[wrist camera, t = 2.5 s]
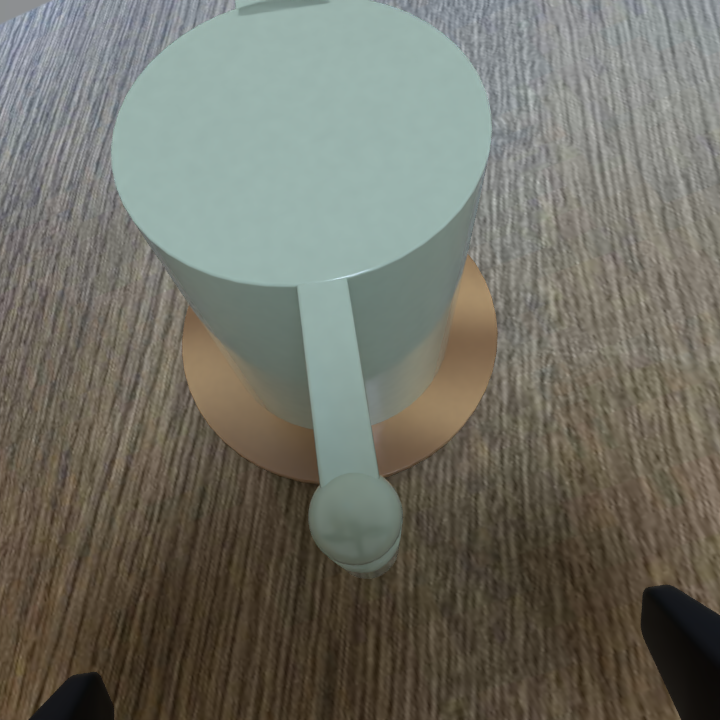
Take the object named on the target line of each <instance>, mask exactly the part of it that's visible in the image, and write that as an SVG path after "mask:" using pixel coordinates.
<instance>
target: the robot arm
mask: <svg viewBox="0 0 720 720" xmlns="http://www.w3.org/2000/svg"><path fill="white" fill-rule="evenodd" d="M641 630H642V635H643V638H644V640H645V642H646V645H647V647H648V649H649V651H650V653H651V655H652V658H653V660H654V662H655V664H656V666H657V668H658V670H659V673H660V675H661V677H662V679H663V681H664V683H665V685H666V688H667V690H668V692H669V694H670V696H671V698H672V701H673V703H674V705H675V707H676V709H677V711H678V713H679V716H680V718H681V720H720V615H719V614H717V613H715V612H714V611H712V610H711V609H709V608H707V607H706V606H704V605H703V604H701V603H699V602H698V601H696V600H695V599H693V598H691V597H690V596H688V595H687V594H685V593H683V592H682V591H680V590H679V589H677V588H675V587H673V586H671V585H660V586H654V587H648V588H646V589H645V590H644V592H643V598H642V613H641ZM29 720H114V707H113V703H112V701H111V699H110V696H109V694H108V691H107V689H106V687H105V684H104V682H103V680H102V677H101V676H100V674H98V673H97V672H90V673H83V674H77V675H73V676H71V677H70V678H68V679H67V680H66V681H65V682H64V683H63V684H62V685H61V686H60V687H59V688H58V689H57V690H56V692H55V693H54V694H53V695H52V696H51V697H50V698H49V699H48V700H47V701H46V702H45V703H44V704H43V705H42V706H41V707H40V708H39V709H38V710H37V711H36V712H35V713H34V714H33V716H32V717H31V718H30V719H29Z"/></svg>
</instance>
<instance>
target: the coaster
mask: <svg viewBox="0 0 720 720" xmlns="http://www.w3.org/2000/svg"><path fill="white" fill-rule="evenodd" d="M497 335H498V333H497V322H496V313H495V309H494V305H493V301H492V297H491V294H490V292H489V289H488V287H487V284H486V282H485V279H484V278H483V276H482V274H481V272H480V271H479V269H478V267H477V265H476V264H475V262H474V261H473V260H472V259H471V257H470V256H469V255H468V254H467V259H466V263H465V268H464V273H463V277H462V282H461V286H460V291H459V296H458V300H457V305H456V309H455V314H454V318H453V323H452V328H451V332H450V337H449V341H448V346H447V350H446V353H445V357H444V360H443V362H442V364H441V367H440V369H439V371H438V373H437V375H436V376H435V378H434V379H433V381H432V382H431V384H430V385H429V387H428V388H427V389H426V390H425V391H424V392H423V394H422V395H421V396H420V397H419V398H418V399H417V400H415V401H414V402H413V403H412V404H411V405H410V406H408V407H407V408H406V409H404V410H403V411H401V412H400V413H398V414H397V415H395V416H393V417H391V418H389V419H387V420H385V421H383V422H380V423H377V424H375V425H372V426H371V427H372V433H373V439H374V445H375V452H376V458H377V464H378V470H379V474H380V475H382V476H383V477H384V478H385V477H389V476H392V475H394V474H397V473H399V472H401V471H404V470H406V469H409V468H411V467H413V466H414V465H416V464H418V463H420V462H421V461H423V460H425V459H427V458H428V457H430V456H431V455H433V454H434V453H435V452H437V451H438V450H439V449H440V448H442V447H443V446H444V445H446V444H447V443H448V442H449V441H450V440H451V439H452V438H453V437H454V436H455V435H456V434H457V433H458V432H459V431H460V430H461V429H462V428H463V426H464V425H465V424H466V422H467V421H468V420H469V418H470V417H471V416H472V414H473V413H474V411H475V410H476V408H477V406H478V404H479V402H480V400H481V399H482V397H483V395H484V393H485V391H486V388H487V385H488V383H489V380H490V377H491V374H492V372H493V367H494V362H495V357H496V352H497ZM182 357H183V364H184V371H185V376H186V379H187V383H188V386H189V389H190V392H191V394H192V397H193V399H194V401H195V403H196V405H197V407H198V409H199V411H200V412H201V414H202V416H203V417H204V419H205V420H206V422H207V423H208V425H209V426H210V427H211V428H212V429H213V430H214V432H215V433H216V434H217V435H218V436H219V437H220V438H221V439H222V440H223V441H224V442H225V443H226V444H227V445H228V446H229V447H230V448H232V449H233V450H234V451H235V452H236V453H238V454H239V455H240V456H241V457H243V458H245V459H246V460H248V461H250V462H251V463H253V464H254V465H256V466H258V467H259V468H262V469H264V470H266V471H269V472H271V473H273V474H276V475H278V476H281V477H285V478H288V479H292V480H295V481H299V482H305V483H312V484H319V485H320V483H319V474H318V466H317V457H316V449H315V440H314V432H313V429H308V428H304V427H301V426H297V425H294V424H291V423H289V422H287V421H285V420H283V419H280V418H278V417H277V416H275V415H274V414H272V413H271V412H269V411H267V410H266V409H265V408H264V407H262V406H261V405H260V404H259V403H258V402H257V401H256V400H255V399H254V398H253V397H252V396H251V395H250V394H249V393H248V391H247V390H246V389H245V387H244V386H243V384H242V383H241V381H240V380H239V378H238V377H237V375H236V374H235V372H234V371H233V369H232V368H231V366H230V365H229V363H228V362H227V360H226V359H225V357H224V356H223V354H222V353H221V351H220V350H219V348H218V347H217V346H216V344H215V343H214V341H213V340H212V338H211V337H210V335H209V334H208V332H207V331H206V329H205V328H204V326H203V325H202V323H201V322H200V320H199V319H198V317H197V316H196V314H195V313H194V311H193V310H192V308H191V307H190V305H189V307H188V310H187V313H186V317H185V323H184V329H183V336H182Z"/></svg>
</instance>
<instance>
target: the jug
mask: <svg viewBox="0 0 720 720" xmlns="http://www.w3.org/2000/svg"><path fill="white" fill-rule="evenodd" d="M491 138H492V119H491V110H490V106H489V101H488V97H487V93H486V91H485V89H484V86H483V84H482V81H481V79H480V77H479V75H478V73H477V72H476V70H475V68H474V67H473V65H472V64H471V62H470V60H469V59H468V58H467V57H466V56H465V54H464V53H463V52H462V51H461V50H460V49H459V47H458V46H457V45H456V44H455V43H453V42H452V41H451V40H450V39H449V38H448V37H447V36H445V35H444V34H443V33H442V32H440V31H439V30H438V29H436V28H435V27H433V26H432V25H430V24H429V23H427V22H426V21H424V20H422V19H420V18H418V17H416V16H414V15H412V14H410V13H408V12H406V11H403V10H400V9H398V8H395V7H392V6H390V5H387V4H383V3H379V2H375V1H372V0H235V9H233V10H231V11H228V12H225V13H223V14H220V15H218V16H216V17H214V18H212V19H210V20H208V21H206V22H204V23H202V24H200V25H198V26H196V27H195V28H193V29H191V30H190V31H188V32H187V33H185V34H183V35H182V36H180V37H179V38H178V39H176V40H175V41H174V42H173V43H171V44H170V45H169V46H167V47H166V48H165V49H164V50H163V51H162V52H161V53H159V54H158V55H157V56H156V57H155V58H154V59H153V60H152V61H151V62H150V63H149V64H148V66H147V67H146V68H145V69H144V70H143V72H142V73H141V74H140V75H139V76H138V78H137V79H136V81H135V82H134V84H133V85H132V87H131V88H130V90H129V92H128V93H127V95H126V97H125V99H124V101H123V103H122V106H121V108H120V110H119V112H118V116H117V119H116V123H115V126H114V129H113V136H112V145H111V161H112V172H113V177H114V181H115V185H116V189H117V192H118V194H119V196H120V199H121V201H122V203H123V206H124V208H125V209H126V211H127V212H128V214H129V215H130V217H131V219H132V220H133V222H134V223H135V225H136V226H137V228H138V229H139V231H140V232H141V234H142V235H143V237H144V238H145V240H146V241H147V243H148V244H149V246H150V247H151V249H152V250H153V252H154V253H155V255H156V256H157V257H158V259H159V260H160V262H161V263H162V265H163V266H164V268H165V269H166V271H167V272H168V274H169V275H170V277H171V278H172V280H173V281H174V283H175V284H176V286H177V287H178V289H179V290H180V292H181V293H182V295H183V296H184V298H185V299H186V301H187V302H188V304H189V305H190V307H191V308H192V310H193V311H194V313H195V314H196V316H197V317H198V319H199V320H200V322H201V323H202V325H203V326H204V328H205V329H206V331H207V332H208V334H209V335H210V337H211V338H212V340H213V341H214V343H215V344H216V346H217V347H218V348H219V350H220V351H221V353H222V354H223V356H224V357H225V359H226V360H227V362H228V363H229V365H230V366H231V368H232V369H233V371H234V372H235V374H236V375H237V377H238V378H239V380H240V381H241V383H242V384H243V386H244V387H245V389H246V390H247V391H248V393H249V394H250V395H251V396H252V397H253V398H254V399H255V400H256V401H257V402H258V403H259V404H260V405H261V406H262V407H264V408H265V409H266V410H267V411H269V412H271V413H272V414H274V415H275V416H277V417H278V418H280V419H283V420H285V421H287V422H289V423H291V424H294V425H297V426H301V427H304V428H308V429H313V432H314V440H315V449H316V457H317V466H318V474H319V483H320V485H319V486H318V487H317V489H316V490H315V492H314V493H313V496H312V498H311V501H310V505H309V510H308V523H309V528H310V532H311V535H312V537H313V539H314V541H315V543H316V545H317V546H318V547H319V549H320V550H321V551H322V552H323V553H324V554H325V555H326V556H328V557H329V558H330V559H331V560H333V561H334V562H335V563H337V564H338V565H339V566H340V567H342V568H343V569H344V570H346V571H347V572H348V573H350V574H351V575H353V576H355V577H358V578H363V579H371V578H376V577H378V576H381V575H383V574H384V573H386V572H387V571H388V570H389V569H390V568H391V567H392V565H393V564H394V562H395V560H396V558H397V555H398V551H399V544H400V537H401V529H402V522H403V511H402V505H401V501H400V499H399V496H398V494H397V492H396V491H395V489H394V488H393V486H392V485H391V484H390V482H389V481H388V480H386V479H385V478H384V477H383V476H382V475H380V474H379V470H378V464H377V458H376V452H375V445H374V439H373V433H372V427H371V426H372V425H375V424H377V423H380V422H383V421H385V420H387V419H389V418H391V417H393V416H395V415H397V414H398V413H400V412H401V411H403V410H404V409H406V408H407V407H408V406H410V405H411V404H412V403H413V402H414V401H415V400H417V399H418V398H419V397H420V396H421V395H422V394H423V392H424V391H425V390H426V389H427V388H428V387H429V385H430V384H431V382H432V381H433V379H434V378H435V376H436V375H437V373H438V371H439V369H440V367H441V364H442V362H443V360H444V357H445V353H446V350H447V346H448V341H449V337H450V332H451V328H452V323H453V318H454V314H455V309H456V305H457V300H458V296H459V291H460V286H461V282H462V277H463V273H464V268H465V263H466V259H467V254H468V250H469V245H470V240H471V236H472V231H473V227H474V222H475V218H476V213H477V208H478V204H479V199H480V195H481V190H482V185H483V181H484V176H485V172H486V167H487V162H488V158H489V153H490V146H491Z"/></svg>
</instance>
